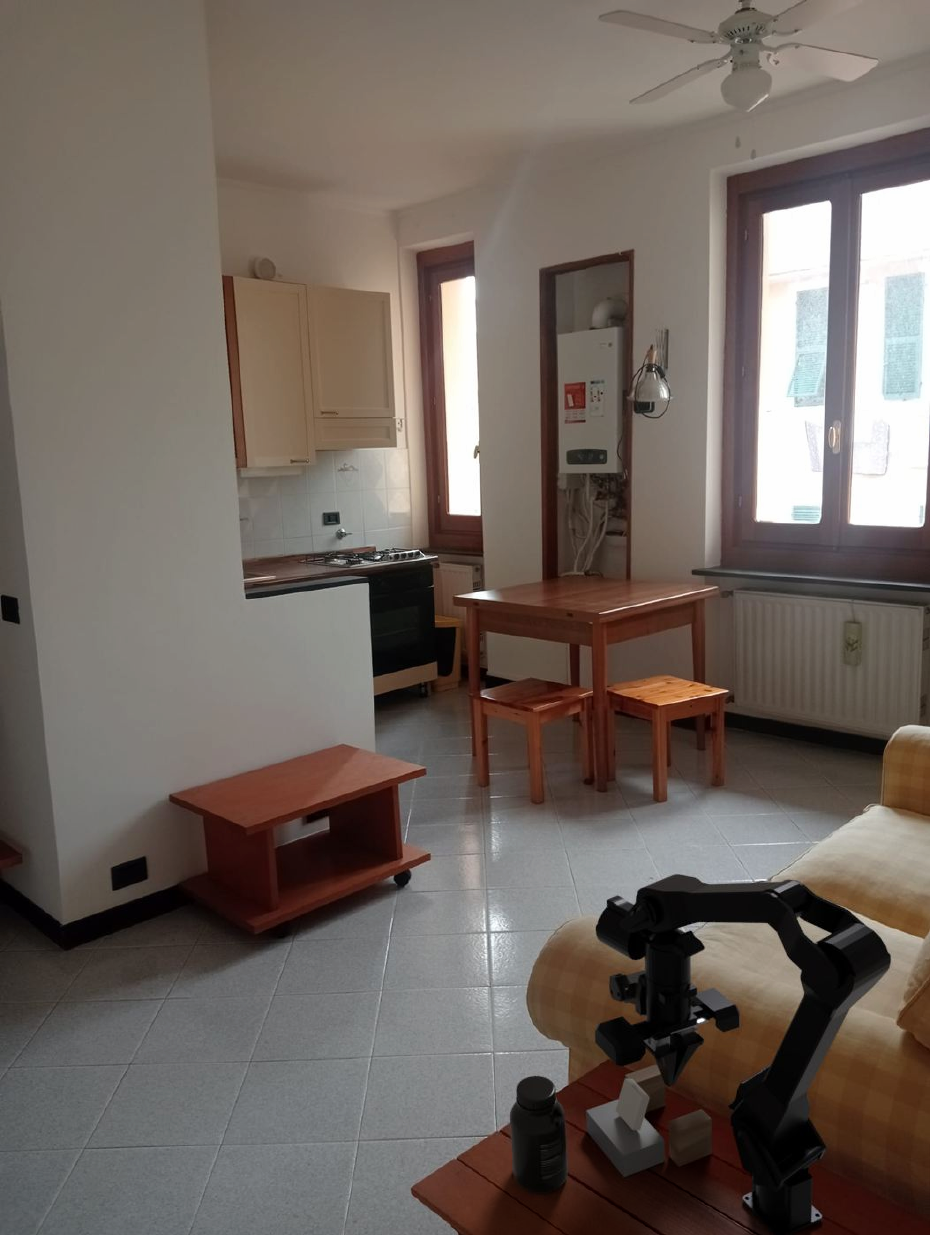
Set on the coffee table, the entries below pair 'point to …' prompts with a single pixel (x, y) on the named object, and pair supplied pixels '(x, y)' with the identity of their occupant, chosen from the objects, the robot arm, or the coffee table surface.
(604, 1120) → the base
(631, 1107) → the plate
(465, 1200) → the coffee table surface
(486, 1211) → the coffee table surface
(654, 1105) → the far post
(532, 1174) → the supplement bottle
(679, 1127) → the beige block
